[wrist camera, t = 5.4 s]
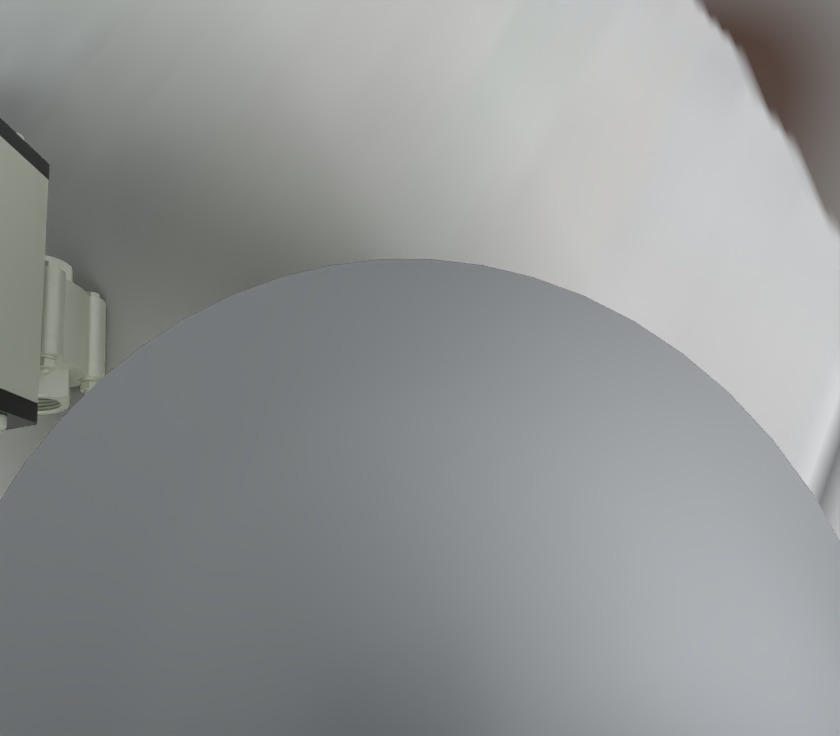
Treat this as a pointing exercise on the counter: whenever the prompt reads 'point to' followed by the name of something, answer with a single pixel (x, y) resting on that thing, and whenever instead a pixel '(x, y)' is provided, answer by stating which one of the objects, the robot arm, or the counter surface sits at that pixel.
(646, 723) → the grey cylinder
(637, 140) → the counter surface
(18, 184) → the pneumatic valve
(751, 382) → the counter surface
